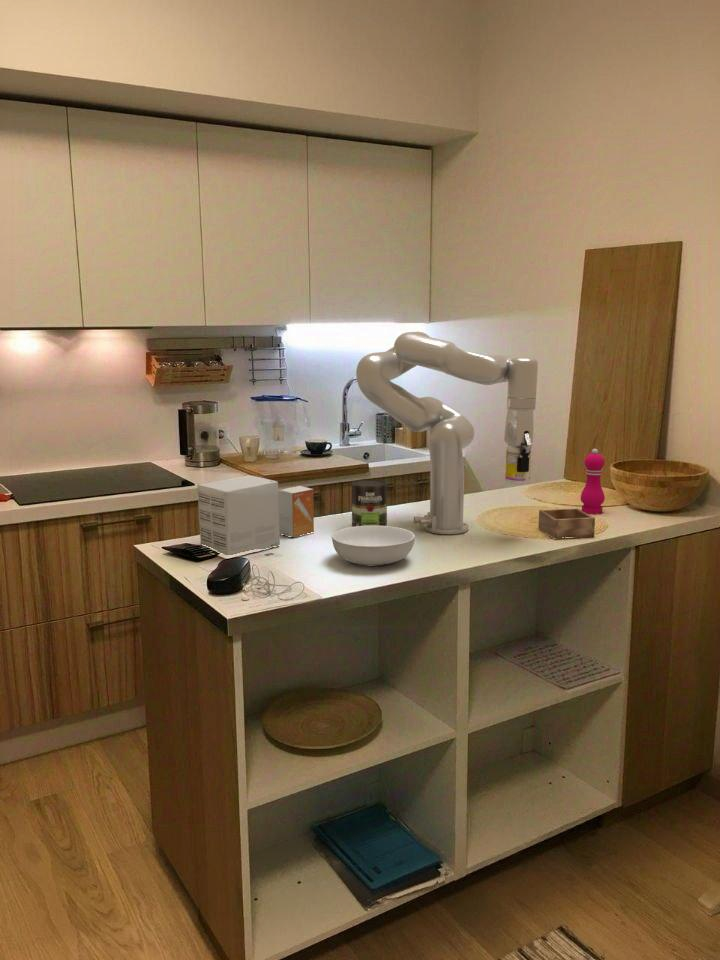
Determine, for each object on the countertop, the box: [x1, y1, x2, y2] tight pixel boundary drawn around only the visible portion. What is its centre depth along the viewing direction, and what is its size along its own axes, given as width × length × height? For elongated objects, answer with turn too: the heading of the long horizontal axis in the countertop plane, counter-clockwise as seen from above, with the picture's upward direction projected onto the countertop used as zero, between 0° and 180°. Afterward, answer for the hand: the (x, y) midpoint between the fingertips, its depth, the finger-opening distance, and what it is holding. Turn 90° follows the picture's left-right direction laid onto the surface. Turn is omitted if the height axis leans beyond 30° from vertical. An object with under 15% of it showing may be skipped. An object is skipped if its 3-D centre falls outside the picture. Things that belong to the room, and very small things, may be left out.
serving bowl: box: [331, 525, 416, 566], centre depth 202 cm, size 21×21×7 cm
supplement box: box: [196, 474, 281, 555], centre depth 213 cm, size 17×13×18 cm
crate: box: [538, 507, 596, 539], centre depth 227 cm, size 12×12×6 cm
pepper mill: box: [580, 448, 606, 515], centre depth 249 cm, size 7×7×20 cm
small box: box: [278, 485, 315, 538], centre depth 227 cm, size 8×6×13 cm
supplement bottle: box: [504, 444, 532, 485], centre depth 219 cm, size 7×7×13 cm
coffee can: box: [350, 478, 388, 527], centre depth 230 cm, size 10×10×14 cm
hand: (517, 468), depth 220 cm, fingers closed on supplement bottle, 6 cm apart
